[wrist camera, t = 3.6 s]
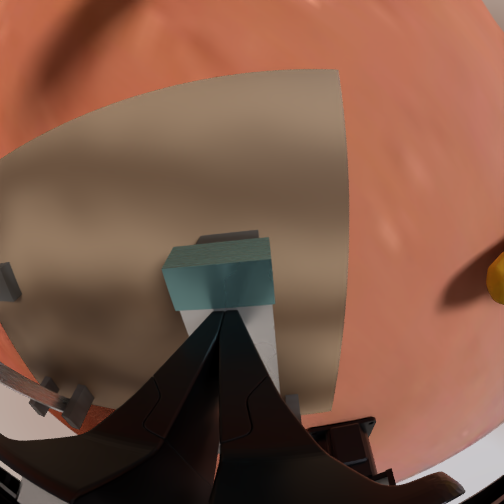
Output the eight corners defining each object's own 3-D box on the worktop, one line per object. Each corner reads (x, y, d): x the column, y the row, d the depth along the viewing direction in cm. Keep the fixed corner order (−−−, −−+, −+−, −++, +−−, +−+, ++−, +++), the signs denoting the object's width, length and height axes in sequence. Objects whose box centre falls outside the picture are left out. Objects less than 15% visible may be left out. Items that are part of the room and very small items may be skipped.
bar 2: (283, 422, 15) (285, 440, 14) (234, 424, 15) (233, 442, 14) (269, 237, 9) (271, 258, 8) (173, 246, 9) (161, 269, 8)
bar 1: (78, 401, 16) (76, 417, 15) (53, 394, 16) (51, 408, 15) (-50, 321, 6) (-57, 344, 5) (-63, 317, 6) (-69, 336, 6)
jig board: (326, 390, 18) (339, 451, 13) (53, 378, 20) (31, 415, 15) (326, 79, 10) (372, 44, 5) (-28, 185, 12) (-75, 207, 7)
